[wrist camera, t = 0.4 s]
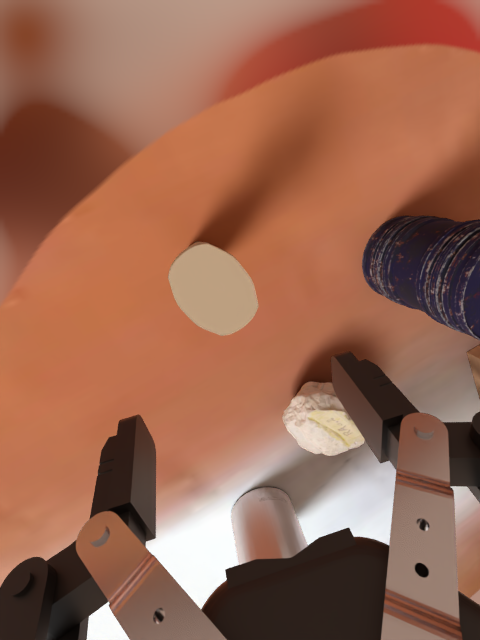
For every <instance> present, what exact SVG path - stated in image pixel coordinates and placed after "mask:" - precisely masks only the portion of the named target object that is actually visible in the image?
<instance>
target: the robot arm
mask: <svg viewBox="0 0 480 640" xmlns="http://www.w3.org/2000/svg"><path fill="white" fill-rule="evenodd" d="M331 370H332V384H333V388H334V391H335V394H336V396H337V397H338V399H339V401H340V402H341V404H342V405H343V407H344V408H345V410H346V411H347V413H348V414H349V416H350V417H351V419H352V421H353V422H354V424H355V425H356V427H357V428H358V430H359V431H360V433H361V434H362V436H363V437H364V439H365V440H366V442H367V444H368V445H369V447H370V448H371V450H372V451H373V453H374V454H375V456H376V457H377V459H378V460H379V462H380V463H383V462H386V461H389V460H390V462H391V463H392V464H393V466H394V467H395V469H396V481H395V491H394V502H393V513H392V523H391V534H390V545H387V544H385V543H382V542H380V541H377V540H374V539H370V538H365V537H353V535H352V533H351V531H350V529H349V528H346V529H343V530H340V531H337V532H334V533H332V534H329V535H326V536H323V537H320V538H318V539H317V540H315V541H314V542H313V543H311V544H310V545H307V542H306V539H305V537H304V534H303V532H302V529H301V526H300V524H299V521H298V518H297V516H296V513H295V511H294V508H293V506H292V503H291V500H290V498H289V496H288V495H287V494H286V493H285V492H283V491H282V490H280V489H277V488H272V487H264V488H258V489H255V490H252V491H250V492H248V493H246V494H245V495H243V496H242V497H241V498H240V499H239V500H238V501H237V502H236V503H235V505H234V507H233V509H232V512H231V521H232V527H233V533H234V538H235V545H236V551H237V557H238V562H239V565H238V566H235V567H232V568H229V569H226V577H227V580H226V581H225V582H224V583H222V584H221V585H220V586H219V587H218V588H217V589H216V590H215V591H214V592H213V593H212V594H211V596H210V597H209V598H208V600H207V601H206V603H205V604H204V606H203V608H202V609H200V608H199V607H198V606H197V605H196V604H195V602H194V601H193V600H192V599H191V598H190V597H189V596H188V594H187V593H186V592H185V591H184V590H183V589H182V587H181V586H180V585H179V584H178V583H177V582H176V581H175V579H174V578H173V577H172V576H171V575H170V574H169V572H168V571H167V570H166V569H165V568H164V567H163V566H162V564H161V563H160V562H159V561H158V560H157V559H156V558H155V557H154V555H152V554H151V553H150V552H149V551H148V550H147V548H146V547H145V544H146V541H149V540H152V539H155V538H156V449H155V444H154V441H153V438H152V436H151V435H150V433H149V431H148V429H147V427H146V425H145V423H144V421H143V419H142V417H141V416H140V415H136V416H132V417H129V418H126V419H122V420H120V421H119V424H118V431H117V435H116V436H113V437H109V438H108V440H107V442H106V444H105V445H104V447H103V449H102V451H101V457H100V466H99V469H98V476H97V480H96V486H95V492H94V498H93V503H92V509H91V515H90V519H89V520H88V521H87V522H86V523H85V525H84V526H83V527H82V529H81V530H80V532H79V534H78V537H77V540H76V541H74V542H73V543H72V544H71V545H70V546H68V547H67V548H65V549H64V550H62V551H61V552H59V553H58V554H56V555H55V556H53V557H52V558H50V559H49V560H47V561H45V560H44V559H43V558H40V557H33V558H29V559H27V560H25V561H23V562H22V563H20V564H19V565H18V566H16V567H15V568H14V569H13V570H12V571H11V572H10V574H9V575H8V576H7V577H6V579H5V580H4V582H3V583H2V585H1V587H0V640H86V639H87V629H88V618H89V616H90V615H91V614H92V613H94V612H95V611H96V610H98V609H99V608H100V607H102V606H103V605H104V604H106V603H107V602H108V601H109V603H110V604H109V607H110V609H111V611H112V613H113V614H114V616H115V617H116V619H117V620H118V622H119V623H120V625H121V627H122V628H123V630H124V631H125V633H126V634H127V636H128V637H129V639H130V640H480V605H479V604H477V603H476V602H474V601H472V600H471V599H470V598H468V597H467V596H465V595H464V594H462V593H461V592H459V591H458V577H457V554H456V531H455V508H454V493H453V489H452V488H451V487H450V486H467V487H468V488H469V489H470V491H471V492H472V493H473V495H474V496H475V497H476V498H477V500H478V501H479V502H480V412H478V413H476V414H475V415H474V417H473V419H472V422H441V421H440V420H439V419H438V418H436V417H434V416H432V415H429V414H426V413H420V412H419V411H418V410H417V409H416V408H415V407H414V406H413V405H412V404H411V403H410V401H409V400H408V399H407V398H406V397H405V396H404V395H403V394H402V393H401V391H400V390H399V389H398V388H397V387H396V386H395V385H394V384H392V381H391V380H390V379H389V378H388V377H387V376H385V374H384V373H383V371H382V370H381V369H380V368H379V367H378V366H377V365H375V364H373V363H371V362H370V361H368V360H366V359H365V360H362V361H358V360H357V359H356V357H355V356H354V355H353V354H352V353H351V352H350V351H347V352H344V353H341V354H337V355H334V356H332V357H331Z"/></svg>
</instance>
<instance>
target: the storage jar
mask: <svg viewBox="0 0 480 640" xmlns="http://www.w3.org/2000/svg"><path fill="white" fill-rule="evenodd" d="M362 268H363V274H364V277H365V280H366V282H367V283H368V285H369V286H370V287H371V288H372V289H373V290H374V291H375V292H377V293H378V294H381V295H383V296H385V297H386V298H388V299H390V300H391V301H393V302H396V303H398V304H401V305H404V306H407V307H409V308H413V309H419V310H421V311H423V312H425V313H426V314H427V315H428V316H430V317H431V318H432V319H434V320H435V321H437V322H439V323H441V324H444V325H446V326H448V327H450V328H452V329H454V330H456V331H459V332H462V333H465V334H468V335H470V336H472V337H474V338H476V339H478V340H480V220H472V221H466V222H456V221H453V220H450V219H447V218H438V217H435V216H399V217H396V218H393V219H391V220H389V221H387V222H385V223H384V224H382V225H381V226H380V227H379V228H378V229H377V230H376V231H375V232H374V233H373V235H372V236H371V238H370V239H369V241H368V243H367V245H366V247H365V250H364V254H363V259H362Z"/></svg>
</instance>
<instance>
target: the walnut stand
mask: <svg viewBox="0 0 480 640" xmlns="http://www.w3.org/2000/svg"><path fill="white" fill-rule="evenodd" d="M467 355H468V359H469V362H470V366H471V369H472V373H473V377H474V380H475V384H476V387H477V391H478V394H479V398H480V345H478V346H477V347H475V348H473V349H471V350H470V351H468V352H467Z"/></svg>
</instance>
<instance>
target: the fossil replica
mask: <svg viewBox="0 0 480 640" xmlns="http://www.w3.org/2000/svg"><path fill="white" fill-rule="evenodd" d="M282 417H283V422H284V424H285V426H286V428H287V430H288V432H289V433H291V434H292V436H293V437H294V438H295V439H296V441H297V442H298V444H299V446H301V447H302V448H303V449H306V450H307V451H309V452H312V453H314V454H320V453H323V454H325V455H328V456H333V455H337V454H340V453H342V452H345V451H348V450H350V449H352V448H359V447H360V445H362V444H364V442H365V439H364V437H363V436H362V434H361V433H360V431H359V430H358V428H357V427H356V425H355V424H354V422H353V421H352V419H351V417H350V416H349V414H348V413H347V411H346V410H345V408H344V407H343V405H342V404H341V402H340V401H339V399H338V397H337V396H336V394H335V391H334V388H333V384H332V383H330V382H327V383H319V382H312V381H311V382H307V383H305V384H304V385H303V386H302V388H301V390H300V391H299V392H298V393H297V395H296V396H295V397H293V399H292V400H291V403H290V405H289V406H288V407H287V409H285V410H284V413H283V416H282Z"/></svg>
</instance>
